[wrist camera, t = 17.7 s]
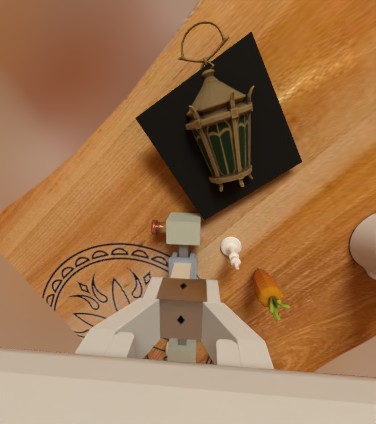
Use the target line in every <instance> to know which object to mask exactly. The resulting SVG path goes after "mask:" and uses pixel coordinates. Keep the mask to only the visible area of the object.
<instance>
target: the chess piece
mask: <svg viewBox="0 0 376 424" xmlns="http://www.w3.org/2000/svg"><path fill="white" fill-rule="evenodd" d="M221 250H222V252H223V253H224V254H225V255H226V256H229V259H230V260H231V265H232V266H234V267H236V269H237V270H238V269H239V267H238V266H239V265H240V263H241V261H240V259H239V255H238V253H239V252H240V251H241V243H240V241H239V240H238V239H237V238H235V237H227V238H225V239H224V240H223V241H222V242H221Z"/></svg>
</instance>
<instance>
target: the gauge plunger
mask: <svg viewBox="0 0 376 424" xmlns="http://www.w3.org/2000/svg"><path fill="white" fill-rule="evenodd" d="M151 231H152V234H153V235H157V233H166V222H158V221H157V220H153V221H152V227H151Z"/></svg>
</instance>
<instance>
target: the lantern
mask: <svg viewBox="0 0 376 424" xmlns="http://www.w3.org/2000/svg"><path fill="white" fill-rule="evenodd" d="M199 24H211V25H214V26H215V27H216V28H218V30H219V32H220V33H221V36H222V40H223V41H222V43H221V44H220V46H219V47H218V48H217V50H216V51H215V52H214V53H213V54H212V55H210V56H209V57H207V58H206V57H204V58H203V59H202V60H191V59H188V58H185V57H184V55H183V43H184V39H185V37H186V35H187V34H188V33H189V31H190V30H191V29H192V28H194V27H195V26H197V25H199ZM229 38H230V37H228V38H224V35H223V32H222V30H221V29H220V27H219V26H218V25H217V24H215V23H213V22H209V21H204V22H199V23H197V24H195V25H193V26H192V27H191V28H190V29H189V30H188V31H187V32H186V33H185V35H184V37H183V40H182V43H181V56H182V57H180V58H178V59H179V60H183V61H190V62H198V63H203V64H202V66H201V68H200V70H199V71H198V72H197V73H195V74H194V75H193V76H191V77H190V78H189V79H187V80H186V81H185V82H183V83H182V84H181V85H179V86H178V87H177V88H175V89H174V90H172V91H171V92H170V93H168V94H167V95H166V96H164V97H163V98H162V99H160V100H159V101H158V102H156V103H155V104H154V105H152V106H151V107H150V108H148V109H147V110H146V111H144V112H143V113H142V114H140V115H139V116H138V117H136V120H137V121H138V123H139V124H140V126H141V127H142V129H143V130H144V132H145V133H146V134H147V136H148V137H149V139H150V140H151V142H152V143H153V145H154V146H155V148H156V149H157V151H158V152H159V154H160V155H161V157H162V158H163V160H164V161H165V163H166V164H167V166H168V167H169V169H170V170H171V172H172V173H173V175H174V176H175V178H176V179H177V181H178V182H179V183H180V185H181V186H182V188H183V189H184V191H185V192H186V194H187V195H188V197H189V198H190V200H191V201H192V203H193V204H194V206H195V207H196V209H197V210H198V212H199V213H200V215H201V216H202V218H203V219H204V220H206V219H207V218H209V217H211V216H212V215H214V214H216V213H217V212H219V211H221V210H222V209H224V208H226V207H227V206H229V205H231V204H232V203H234V202H236V201H237V200H239V199H241V198H243V197H244V196H246V195H248V194H249V193H251V192H253V191H254V190H256V189H258V188H259V187H261V186H263V185H264V184H266V183H268V182H269V181H271V180H273V179H274V178H276V177H278V176H279V175H281V174H283V173H284V172H286V171H288V170H290V169H291V168H293V167H295V166H296V165H298V164H300V163H301V162H302V160H301V158H300V155H299V152H298V150H297V147H296V145H295V142H294V140H293V137H292V134H291V132H290V129H289V127H288V124H287V122H286V119H285V116H284V114H283V111H282V109H281V106H280V104H279V101H278V98H277V96H276V93H275V91H274V88H273V86H272V83H271V80H270V78H269V75H268V73H267V70H266V68H265V65H264V63H263V60H262V57H261V55H260V52H259V50H258V47H257V45H256V42H255V39H254V37H253V34H252V32H250V33H249V34H248V35H246V36H245V37H244V38H242V39H241V40H240V41H238V42H237V43H236V44H234V45H233V46H232V47H230V48H229V49H228V50H226V51H225V52H223V53H222V54H221V55H219V56H218V57H217V58H215V59H214V60H213V61H211V62H210V61H208V60H209V59H210V58H211V57H213V56H214V55H215V54H216V53H217V51H218V50H219V49H220V48H221V47H222V46H223V45H224V44H225V42H226V41H227V40H228V39H229ZM204 65H205V67H204Z"/></svg>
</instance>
